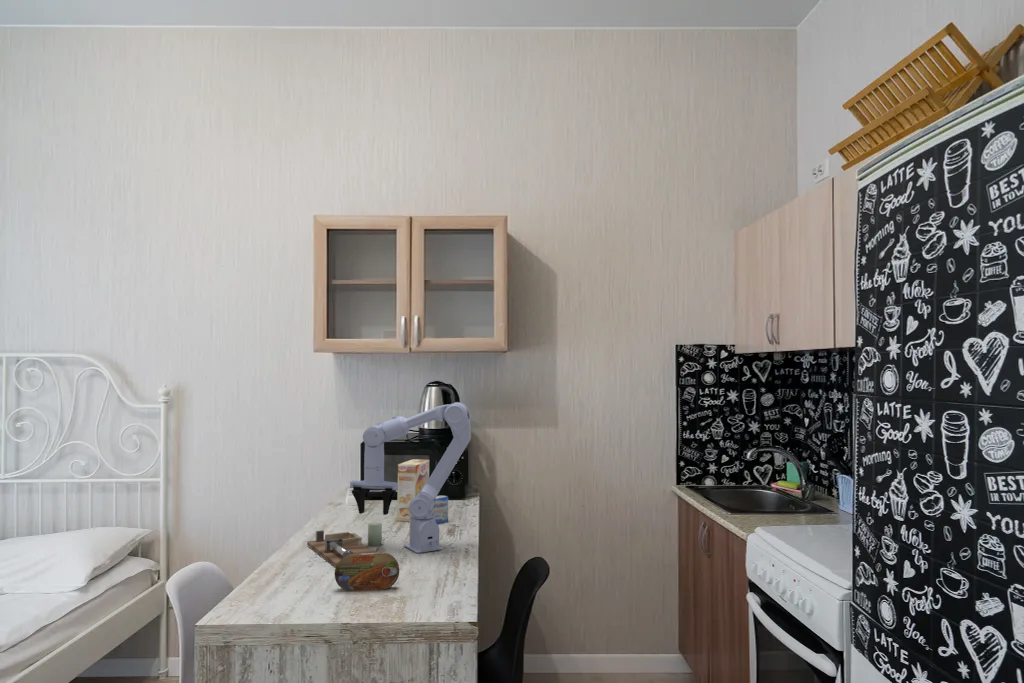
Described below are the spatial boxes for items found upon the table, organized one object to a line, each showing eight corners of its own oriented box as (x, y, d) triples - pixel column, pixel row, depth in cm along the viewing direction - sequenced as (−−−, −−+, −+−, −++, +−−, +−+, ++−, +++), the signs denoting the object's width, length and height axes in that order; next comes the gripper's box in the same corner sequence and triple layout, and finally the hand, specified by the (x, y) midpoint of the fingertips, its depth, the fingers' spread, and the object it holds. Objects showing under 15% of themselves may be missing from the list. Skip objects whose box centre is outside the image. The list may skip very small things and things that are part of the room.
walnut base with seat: (385, 562, 188) (385, 550, 188) (338, 569, 181) (338, 557, 181) (350, 540, 212) (350, 529, 212) (307, 545, 205) (307, 534, 206)
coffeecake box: (415, 522, 237) (416, 464, 238) (396, 521, 239) (396, 464, 240) (429, 513, 252) (430, 459, 253) (410, 512, 254) (411, 458, 254)
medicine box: (432, 525, 232) (432, 499, 233) (422, 523, 235) (423, 498, 235) (448, 521, 239) (448, 496, 239) (439, 520, 241) (439, 494, 242)
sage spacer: (383, 545, 206) (383, 524, 207) (370, 546, 204) (371, 526, 205) (378, 542, 210) (379, 522, 210) (365, 544, 208) (366, 523, 208)
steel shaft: (354, 560, 184) (354, 550, 184) (344, 562, 183) (344, 552, 183) (335, 547, 197) (335, 538, 197) (326, 549, 196) (326, 539, 196)
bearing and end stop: (342, 550, 195) (342, 538, 195) (326, 552, 193) (326, 540, 193) (326, 539, 207) (326, 528, 208) (311, 541, 205) (311, 530, 205)
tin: (334, 592, 163) (334, 555, 163) (335, 588, 166) (336, 552, 167) (399, 589, 165) (399, 553, 165) (399, 585, 168) (399, 550, 169)
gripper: (402, 466, 207) (401, 512, 207) (357, 464, 211) (357, 509, 210) (393, 469, 200) (392, 516, 200) (346, 467, 204) (346, 514, 203)
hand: (373, 513), depth 205 cm, fingers open, 7 cm apart
